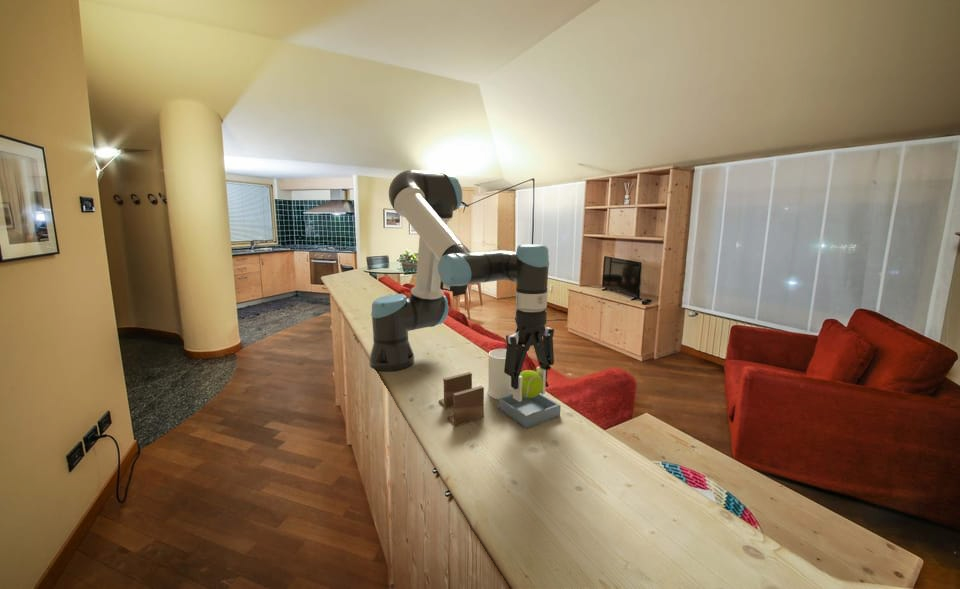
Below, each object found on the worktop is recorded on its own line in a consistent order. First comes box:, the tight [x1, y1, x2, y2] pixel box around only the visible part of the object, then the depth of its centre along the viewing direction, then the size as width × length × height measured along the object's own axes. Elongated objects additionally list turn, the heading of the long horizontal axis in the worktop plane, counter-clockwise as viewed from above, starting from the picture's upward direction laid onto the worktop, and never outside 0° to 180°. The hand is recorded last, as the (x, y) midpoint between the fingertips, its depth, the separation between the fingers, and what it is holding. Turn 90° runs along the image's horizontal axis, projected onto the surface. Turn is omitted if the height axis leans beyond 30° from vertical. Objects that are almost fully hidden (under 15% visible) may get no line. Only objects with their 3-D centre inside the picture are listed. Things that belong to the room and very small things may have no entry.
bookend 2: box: [447, 385, 485, 427], centre depth 93 cm, size 4×8×8 cm, turn 123°
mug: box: [487, 348, 516, 400], centre depth 105 cm, size 12×8×12 cm
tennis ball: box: [520, 369, 543, 398], centre depth 95 cm, size 7×7×7 cm
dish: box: [497, 393, 561, 430], centre depth 96 cm, size 11×11×3 cm
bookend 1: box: [438, 371, 473, 409], centre depth 102 cm, size 4×8×8 cm, turn 123°
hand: (529, 395), depth 96 cm, fingers closed on tennis ball, 7 cm apart
